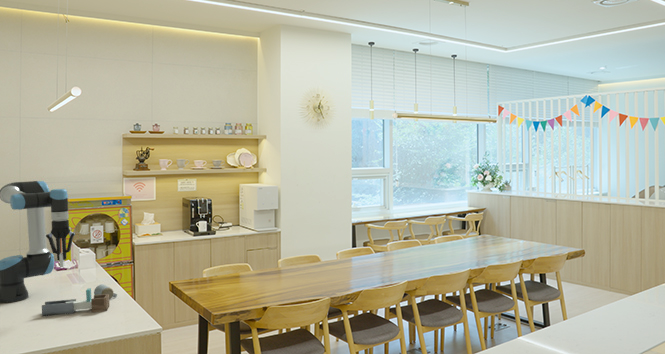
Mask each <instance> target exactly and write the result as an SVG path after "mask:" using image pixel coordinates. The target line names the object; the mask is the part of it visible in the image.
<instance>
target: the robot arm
mask: <svg viewBox="0 0 665 354" xmlns="http://www.w3.org/2000/svg"><path fill="white" fill-rule="evenodd" d="M68 197H69V195H68V190H67V189H65V188H54V189H53V188H52V189H51V190H50V188H49V185H48V183H46V182H45V181H44V180H32V181H31V180H30V181H14V182H10V183H7V184H5V185H3V186H2V187H1V188H0V200H1V201H2V202H3V203H5V204H10V208H11V209H12V210H13V211H15V210H17V211H18V210H19V211H20V210H26V218H27V219H26V220H27V234H28V237H27V238H28V249H29V250H28V251H27V252H26V256H23V255H21V254H18V255H11V256H7V257H4V258H2V259H0V304H9V303H15V302H20V301H23V300H26V299H27V298H29V291H28V288H27V286H26V284H25V279H27V278H33V277H39V276H46V275H49V274H51V273H52V272H53V270H54V267H55V257H54V256H55V255H54V254H56V260H57V261H59V267H60V268H64V267H65V261H66V260H67V253H69V252H70V251H71V248H72V243H73V239H74V237H75V235H76V232H73V231H71V229H70V223H69V222H70V220H69V217H70V216H69V198H68ZM45 208H50V218H51V230H50V232H49V233H48V234H47V232H46V231H47V230H46V229H47V228H46V216H45ZM68 235H69V236H68ZM67 237H69V239H68V243H67ZM54 238H55V241H56V242H54ZM47 240H48V242H49V245H50V248H51V250H49V249H48V248H47V245H48V244H47ZM55 243H56V245H55ZM61 249H62V250H61ZM51 251H52V253H51Z"/></svg>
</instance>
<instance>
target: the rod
mask: <svg viewBox="0 0 665 354" xmlns="http://www.w3.org/2000/svg"><path fill="white" fill-rule="evenodd" d="M85 293H86V294H85V295H86V299H84V300H76V301H72V302H73V303H74V310H76V311H78V310H89V309H90V310H92V305H91V299H92V288H91V287H90V288H89V287H88V288H87V289H86V290H85ZM66 303H70V302H66Z"/></svg>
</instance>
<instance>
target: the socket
mask: <svg viewBox="0 0 665 354" xmlns="http://www.w3.org/2000/svg"><path fill="white" fill-rule="evenodd" d="M91 305H92V308H91V313H99V312H107V311H108V310H109V307H110V299H109V294H102V295H94V294H93V298H91Z"/></svg>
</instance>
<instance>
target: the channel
mask: <svg viewBox="0 0 665 354" xmlns="http://www.w3.org/2000/svg"><path fill="white" fill-rule="evenodd" d="M72 301H77V298H74V299H72V298H71V299H60V300H51V301H45V302H44V304H41V317H51V316H62V315H70V314H71V315H72V314H74V313H75V312H76V311H77V310H74V303H73V302H72ZM66 302H70V303H66Z"/></svg>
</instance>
